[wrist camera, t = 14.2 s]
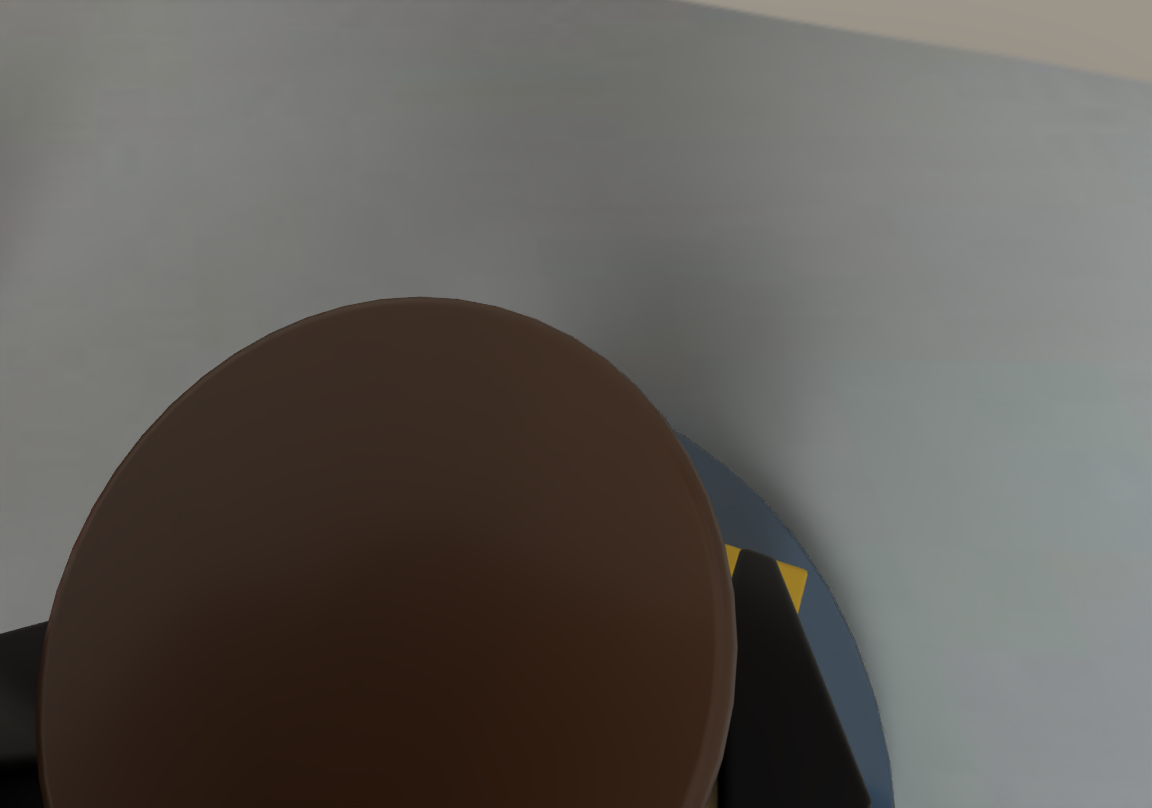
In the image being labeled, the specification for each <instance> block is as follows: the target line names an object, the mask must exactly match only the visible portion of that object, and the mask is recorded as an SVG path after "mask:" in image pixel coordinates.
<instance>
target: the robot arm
mask: <svg viewBox="0 0 1152 808" xmlns="http://www.w3.org/2000/svg"><path fill="white" fill-rule="evenodd" d="M731 579H732V584H733V589H734V595H735V612H736V629H737V646H738V649H737V664H736V679H735V693H734V705H733V710H732V715H731V720H730V725H729V730H728V735H727V740H726V745H725V750H724V755H723V760H722V763H721V766H720V769H719V772H718V775H717V778H716V781H715V784H714V787H713V790H712V793H711V796H710V799H709V802H708V805H707V808H872V807H871V806H872V799H871V797H870V794H869V792H868V789H867V787H866V784H865V782H864V779H863V777H862V774H861V772H860V769H859V767H858V764H857V762H856V759H855V757H854V754H853V752H852V749H851V747H850V744H849V742H848V739H847V737H846V734H845V732H844V729H843V727H842V724H841V722H840V719H839V717H838V714H837V712H836V709H835V707H834V704H833V702H832V699H831V696H830V694H829V691H828V689H827V686H826V684H825V681H824V679H823V676H822V674H821V671H820V669H819V666H818V664H817V661H816V659H815V656H814V654H813V651H812V649H811V646H810V644H809V641H808V639H807V636H806V634H805V631H804V629H803V626H802V624H801V621H800V619H799V616H798V614H797V611H796V609H795V606H794V604H793V601H792V599H791V596H790V594H789V591H788V589H787V586H786V583H785V581H784V578H783V576H782V573H781V571H780V568H779V566H778V563H777V561H776V560H775V559H774V558H773V557H771V556H768V555H765V554H762V553H759V552H756V551H753V550H750V549H747V548H744V549H742V550H740V552H739V555H738V558H737V561H736V565H735V568H734V571H733V574H732V578H731ZM48 622H49V621H46V622H43V623H39V624H35V625H31V626H28V627H24V628H20V629H17V630H13V631H9V632H5V633H2V634H0V808H44V805H43V800H42V795H41V790H40V785H39V777H38V763H37V749H36V735H35V728H36V704H37V683H38V676H39V670H40V663H41V657H42V650H43V644H44V637H45V633H46V629H47V626H48Z"/></svg>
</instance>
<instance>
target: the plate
mask: <svg viewBox="0 0 1152 808" xmlns="http://www.w3.org/2000/svg"><path fill="white" fill-rule="evenodd" d="M674 433H675V434H676V436H677V437H678V439H679V440H680V442H681V443H682V445H683V446H684V448H685V450H686V451H687V453H688V454H689V456H690V458H691V460H692V462H693V464H694V466H695V468H696V470H697V472H698V474H699V476H700V479H701V481H702V483H703V485H704V487H705V489H706V491H707V493H708V495H709V497H710V500H711V503H712V506H713V509H714V512H715V515H716V518H717V521H718V524H719V528H720V531H721V534H722V537H723V540H724V543H725V544H727V545H730V546H733V547H736V548H740V549H744V548H747V549H750V550H753V551H756V552H759V553H762V554H765V555H768V556H771V557H773V558H774V559H775V560H777V561H780V562H783V563H786V564H789V565H793V566H796V567H799V568H802V569H805V570H806V571H807V574H808V576H807V580H806V584H805V588H804V592H803V596H802V600H801V604H800V608H799V612H798V616H799V619H800V621H801V624H802V626H803V629H804V631H805V634H806V636H807V639H808V641H809V644H810V646H811V649H812V651H813V654H814V656H815V659H816V661H817V664H818V666H819V669H820V671H821V674H822V676H823V679H824V681H825V684H826V686H827V689H828V691H829V694H830V696H831V699H832V702H833V704H834V707H835V709H836V712H837V714H838V717H839V719H840V722H841V724H842V727H843V729H844V732H845V734H846V737H847V739H848V742H849V744H850V747H851V749H852V752H853V754H854V757H855V759H856V762H857V764H858V767H859V769H860V772H861V774H862V777H863V779H864V782H865V784H866V787H867V789H868V792H869V794H870V797H871V799H872V806H871V807H872V808H895V803H894V793H893V784H892V774H891V764H890V758H889V754H888V750H887V745H886V741H885V736H884V732H883V728H882V723H881V719H880V714H879V710H878V705H877V701H876V697H875V695H874V692H873V689H872V686H871V683H870V681H869V678H868V675H867V672H866V669H865V667H864V664H863V661H862V658H861V655H860V652H859V650H858V647H857V644H856V641H855V639H854V637H853V635H852V633H851V631H850V629H849V627H848V625H847V623H846V621H845V619H844V617H843V615H842V613H841V611H840V609H839V607H838V605H837V603H836V601H835V599H834V597H833V595H832V593H831V591H830V589H829V587H828V585H827V584H826V582H825V581H824V579H823V578H822V576H821V575H820V573H819V572H818V570H817V569H816V567H815V566H814V564H813V563H812V561H811V560H810V558H809V557H808V555H807V554H806V552H805V551H804V549H803V548H802V546H801V545H800V543H799V542H798V540H797V539H796V538H795V537H794V535H793V534H792V533H791V532H790V531H789V530H788V528H787V527H786V526H785V525H784V524H783V523H782V521H781V520H780V519H779V518H778V517H777V515H776V514H775V513H774V512H773V511H772V510H771V508H770V507H769V506H768V505H767V504H766V503H765V501H764V500H763V499H762V498H761V497H760V496H758V495H757V494H756V493H755V492H754V491H753V490H752V489H751V488H750V487H749V486H748V485H746V484H745V483H744V482H743V481H742V480H741V479H740V478H739V477H738V476H737V475H735V474H734V473H733V472H732V471H731V470H730V469H729V468H728V467H727V466H726V465H724V464H723V463H722V462H720V461H719V460H717V459H716V458H714V457H713V456H712V455H710V454H709V453H707V452H706V451H705V450H703V449H702V448H700V447H699V446H697V445H696V444H695V443H693V442H692V441H690V440H689V439H687V438H686V437H685V436H683V435H681V434H679V433H677V432H675V431H674Z"/></svg>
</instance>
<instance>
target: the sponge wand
mask: <svg viewBox="0 0 1152 808" xmlns="http://www.w3.org/2000/svg"><path fill="white" fill-rule="evenodd" d="M740 550H742V549H740V548H736V547H733V546H730V545H727V544H725V543H724V540H723V537H722V534H721V531H720V528H719V524H718V521H717V518H716V515H715V512H714V509H713V506H712V503H711V500H710V497H709V495H708V493H707V491H706V489H705V487H704V485H703V483H702V481H701V479H700V476H699V474H698V472H697V470H696V468H695V466H694V464H693V462H692V460H691V458H690V456H689V454H688V453H687V451H686V450H685V448H684V446H683V445H682V443H681V442H680V440H679V439H678V437H677V436H676V434H675V433H674V431H673V430H672V428H671V427H670V425H669V424H668V422H667V421H666V419H665V418H664V417H663V415H662V414H661V413H660V412H659V411H658V410H657V409H656V407H655V406H654V405H653V404H652V403H651V402H650V401H649V399H648V398H647V397H646V396H645V395H644V394H643V392H642V391H641V390H640V389H639V388H638V387H637V386H636V385H635V384H634V383H633V382H632V381H631V380H630V379H628V378H627V377H626V376H625V375H624V374H623V373H622V372H620V371H619V370H618V369H617V368H616V367H615V366H614V365H612V364H611V363H610V362H609V361H608V360H607V359H605V358H604V357H602V356H601V355H599V354H598V353H596V352H595V351H593V350H592V349H590V348H589V347H587V346H586V345H584V344H583V343H581V342H580V341H578V340H577V339H575V338H574V337H572V336H570V335H568V334H566V333H564V332H562V331H560V330H558V329H556V328H554V327H551V326H549V325H547V324H545V323H543V322H541V321H539V320H537V319H534V318H531V317H528V316H525V315H522V314H519V313H516V312H512V311H509V310H506V309H503V308H500V307H496V306H492V305H487V304H481V303H476V302H471V301H465V300H460V299H449V298H432V297H408V298H392V299H380V300H374V301H369V302H364V303H358V304H353V305H347V306H343V307H339V308H336V309H333V310H330V311H326V312H323V313H320V314H317V315H313V316H310V317H307V318H304V319H302V320H300V321H297V322H295V323H293V324H291V325H288V326H286V327H284V328H281V329H279V330H277V331H274V332H272V333H270V334H268V335H266V336H265V337H263V338H261V339H259V340H258V341H256V342H254V343H252V344H251V345H249V346H247V347H245V348H244V349H242V350H240V351H238V352H237V353H235V354H233V355H232V356H231V357H229V358H228V359H227V360H225V361H224V362H222V363H221V364H220V365H218V366H217V367H215V368H214V369H213V370H211V371H210V372H208V373H207V374H206V375H204V376H203V377H202V378H200V379H199V380H198V381H197V382H196V383H195V384H194V385H192V386H191V387H190V388H189V389H188V390H187V391H186V392H184V393H183V394H182V395H181V396H180V397H179V398H178V399H177V400H175V401H174V402H173V403H172V404H171V405H170V406H169V407H168V408H167V409H166V410H165V411H164V412H163V413H162V415H161V416H160V417H159V418H158V419H157V420H156V421H155V422H154V423H153V424H152V425H151V426H150V427H149V429H148V430H147V431H146V432H145V433H144V434H143V435H142V436H141V438H140V439H139V440H138V441H137V443H136V444H135V445H134V447H133V448H132V449H131V451H130V452H129V453H128V455H127V456H126V457H125V458H124V460H123V461H122V462H121V464H120V465H119V466H118V468H117V469H116V470H115V472H114V474H113V475H112V477H111V478H110V480H109V482H108V483H107V485H106V487H105V488H104V490H103V491H102V493H101V495H100V496H99V498H98V499H97V501H96V503H95V504H94V506H93V508H92V510H91V512H90V514H89V516H88V518H87V520H86V522H85V524H84V526H83V528H82V530H81V532H80V534H79V536H78V538H77V540H76V542H75V544H74V546H73V548H72V551H71V554H70V556H69V559H68V562H67V564H66V567H65V570H64V572H63V575H62V578H61V580H60V583H59V586H58V589H57V591H56V595H55V599H54V603H53V606H52V610H51V614H50V618H49V622H48V626H47V629H46V633H45V637H44V644H43V650H42V657H41V663H40V670H39V676H38V683H37V704H36V728H35V735H36V749H37V763H38V777H39V785H40V790H41V795H42V800H43V805H44V808H707V805H708V802H709V799H710V796H711V793H712V790H713V787H714V784H715V781H716V778H717V775H718V772H719V769H720V766H721V763H722V760H723V755H724V750H725V745H726V740H727V735H728V730H729V725H730V720H731V715H732V710H733V705H734V693H735V679H736V664H737V649H738V646H737V629H736V612H735V595H734V589H733V584H732V579H731V578H732V574H733V571H734V568H735V565H736V561H737V558H738V555H739V552H740ZM776 561H777V560H776ZM777 563H778V566H779V568H780V571H781V573H782V576H783V578H784V581H785V583H786V586H787V589H788V591H789V594H790V596H791V599H792V601H793V604H794V606H795V609H796V611H797V614H798V612H799V608H800V604H801V600H802V596H803V592H804V588H805V584H806V580H807V576H808V574H807V571H806V570H805V569H802V568H799V567H796V566H793V565H789V564H786V563H783V562H780V561H777Z"/></svg>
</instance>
